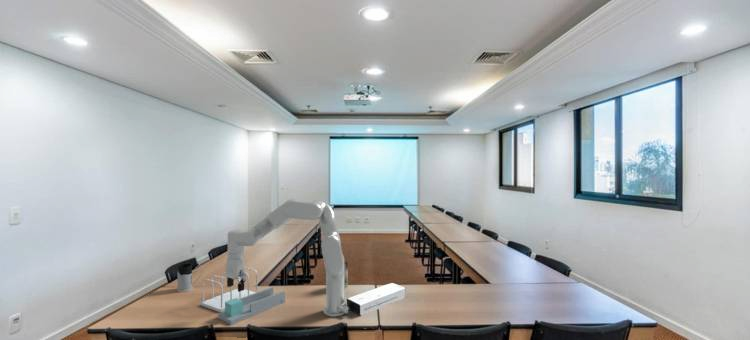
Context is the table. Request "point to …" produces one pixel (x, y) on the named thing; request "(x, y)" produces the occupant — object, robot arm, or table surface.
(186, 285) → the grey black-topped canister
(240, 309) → the teal block
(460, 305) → the table surface
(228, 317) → the sleeve
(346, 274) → the coffee box
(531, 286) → the table surface
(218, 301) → the file sorter
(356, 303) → the laminator
